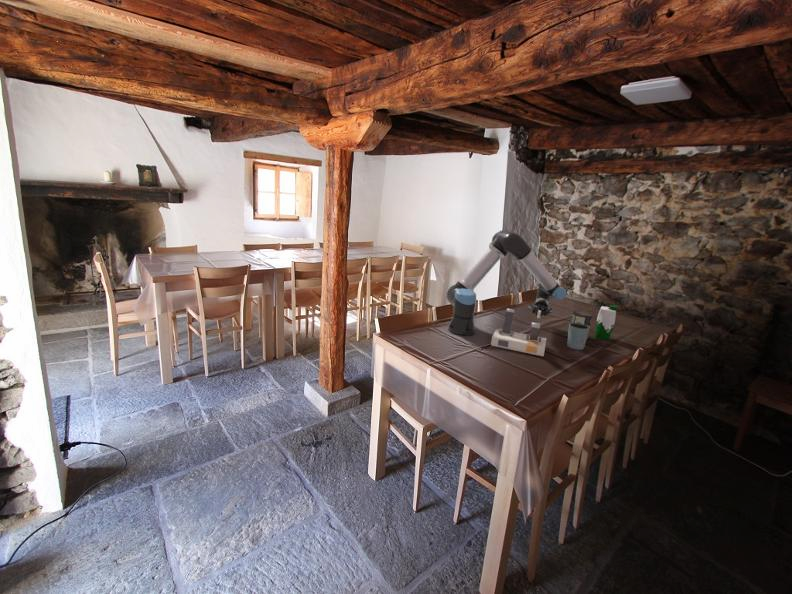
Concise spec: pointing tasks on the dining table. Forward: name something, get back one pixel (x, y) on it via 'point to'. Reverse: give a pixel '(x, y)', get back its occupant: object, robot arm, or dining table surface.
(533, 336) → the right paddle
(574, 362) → the dining table surface
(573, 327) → the drinking glass
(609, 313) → the milk carton
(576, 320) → the coffee can
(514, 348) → the console
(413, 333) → the dining table surface
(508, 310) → the left paddle
